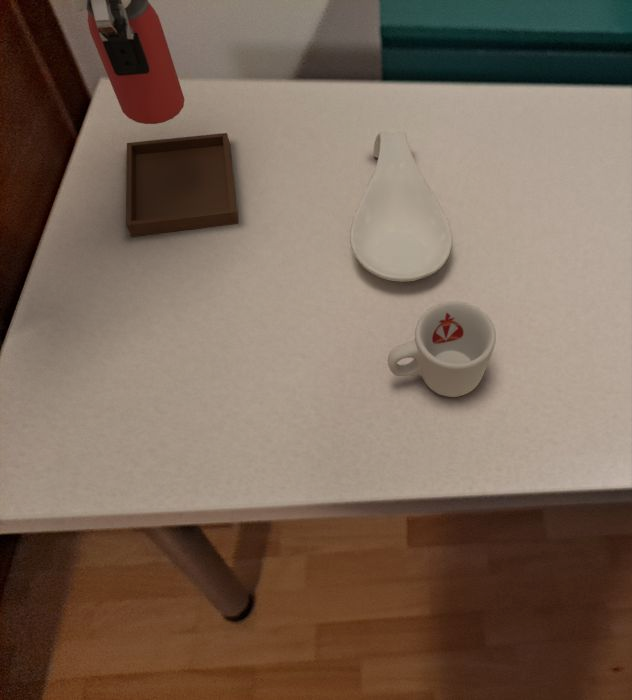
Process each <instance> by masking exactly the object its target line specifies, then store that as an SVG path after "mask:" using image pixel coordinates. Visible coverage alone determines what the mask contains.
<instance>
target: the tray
mask: <svg viewBox="0 0 632 700" xmlns="http://www.w3.org/2000/svg"><path fill="white" fill-rule="evenodd" d="M233 167H234V166H233V160H232V149H231V143H230V139H229V135H228V133H227V132H221V133H220V132H219V133H212V134H201V135H193V136H191V135H190V136H181V137H171V138H163V139H162V138H161V139H152V140H143V141H132V142H126V169H125V170H126V174H125V175H126V179H125V181H126V184H125V191H126V192H125V197H126V198H125V202H126V203H125V226H126V228H127V230H128V232H129V235H130V236H131V238H133V237H140V236H148V235H149V236H151V235H158V234H164V233H173V232H180V231H189V230H196V229H204V228H213V227H221V226H227V225H236V224H237V225H238V224H239V215H238V206H237V197H236V188H235V177H234V169H233Z"/></svg>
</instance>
